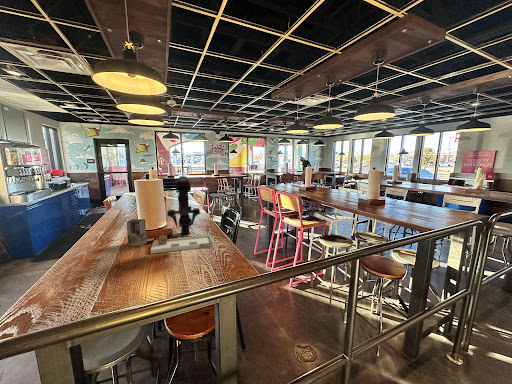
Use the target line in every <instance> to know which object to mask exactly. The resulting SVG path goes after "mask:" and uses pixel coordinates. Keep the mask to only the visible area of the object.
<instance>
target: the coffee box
mask: <svg viewBox="0 0 512 384" xmlns="http://www.w3.org/2000/svg"><path fill="white" fill-rule="evenodd" d="M146 226H147V225H146V219H145V218H143V219H142V218H133V219H129V220H128V221H127V220H126V231H127V233H126V234H127V241H128V242H127V244H128V246H133V247H134V246H137V247H138V246H139V247H142V246H144V245H145V244H146V243H147V242H148V241H147V228H146Z"/></svg>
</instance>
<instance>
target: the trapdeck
mask: <svg viewBox="0 0 512 384" xmlns="http://www.w3.org/2000/svg"><path fill="white" fill-rule="evenodd" d="M211 247H213V239H212V236H211V234H208V235H197V236H196V235H195V236H187V237H177V238H169V239H168V238H167V244H165V245H159V241H158V239H156V240H152V245H151V248H150V255H151V254H159V253H166V252H168V253H169V252H176V251H184V250H185V251H186V250H193V249H202V248H211Z"/></svg>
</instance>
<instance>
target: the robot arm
mask: <svg viewBox="0 0 512 384" xmlns="http://www.w3.org/2000/svg"><path fill="white" fill-rule="evenodd" d="M191 186H192V185H191V183H190V180H189V179H188V177H187V176H185V175H184V176H179V177H178V180H177V181H176V183H175V187H176V189H175V191H176V192H175V193H177V194H178V195H177V201H178V210H175V209H168V210H167V212H166V214H167V217H169V218H172V220H173V222H174V224H175V226H176V227H178V226H179V228H181V230H180V231H181V232H180V236H187V235H190V234H191V232H190V231H191V230H190V227H191V226H193V225H194V222H195V219H196V217H197V216H198V215H201V210H200V208H199V207H198V208H196V207H195V208H192V206H190V204H189V193H190V192H191V190H192V189H191ZM190 214H192V217H191V216H190ZM177 215H179V218H178V220H177ZM190 217H191V218H190Z"/></svg>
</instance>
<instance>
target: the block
mask: <svg viewBox="0 0 512 384" xmlns="http://www.w3.org/2000/svg"><path fill="white" fill-rule="evenodd" d="M167 239H168V235H159V236H158V239H157V240H158V241H159V245H165V244H167Z"/></svg>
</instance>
